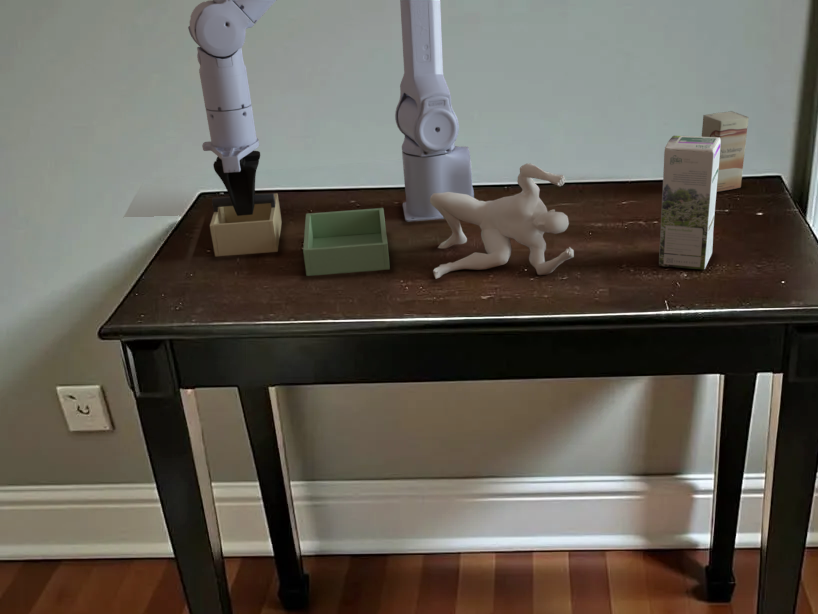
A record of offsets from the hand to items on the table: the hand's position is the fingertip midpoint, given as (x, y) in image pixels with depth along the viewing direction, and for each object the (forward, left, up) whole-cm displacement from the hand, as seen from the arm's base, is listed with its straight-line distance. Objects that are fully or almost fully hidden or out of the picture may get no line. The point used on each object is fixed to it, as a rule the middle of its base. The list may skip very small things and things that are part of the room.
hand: (245, 212), depth 141 cm
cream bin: (0, 0, -4) cm, 4 cm away
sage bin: (-13, +8, -4) cm, 16 cm away
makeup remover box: (-67, -8, -4) cm, 68 cm away
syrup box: (-54, +20, -4) cm, 58 cm away
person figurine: (-32, +16, -4) cm, 36 cm away
